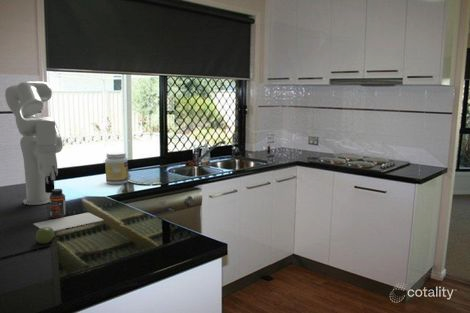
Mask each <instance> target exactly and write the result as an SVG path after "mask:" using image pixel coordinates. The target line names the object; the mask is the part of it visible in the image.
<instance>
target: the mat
mask: <svg viewBox="0 0 470 313" xmlns="http://www.w3.org/2000/svg"><path fill="white" fill-rule="evenodd" d="M104 221H105V219H103V218H101V217H99V216H96V215H95V214H93V213H91V212H83V213H80V214H75V215H69V216H65V217H62V218H52V219H48V220H44V221H39V222H35V223H33V226H35V227H36V228H38V230H39V229H41V228H44V227H50V228H52V229H53V230H54V233H56V232H58V231H64V230H67V229H66V228H69V229H72V227H73V228H78V227H82V226H86V224H87V225H91V224H95V223H100V222H104ZM81 225H82V226H81ZM77 226H78V227H77Z"/></svg>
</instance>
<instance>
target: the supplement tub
mask: <svg viewBox="0 0 470 313" xmlns="http://www.w3.org/2000/svg"><path fill="white" fill-rule="evenodd" d="M126 156H127V154H126V152H124V151H114V152H113V151H112V152H108V153H106V155H105V157H106V158H105V160H104V163H105V164H104V165H105V181H106V183H107V184H108V185H122V184H127V183H128V182H129V165H128V164H129V162H128V158H127V157H126Z"/></svg>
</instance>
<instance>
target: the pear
mask: <svg viewBox="0 0 470 313" xmlns="http://www.w3.org/2000/svg"><path fill="white" fill-rule="evenodd" d="M54 237H56V235H55V232H54V230H53V229H52V228H50V227H44V228H41V229H39V228H38V229H37V231H36V233H35V240H36V242H37V243H38V244H43V245H46V244H49V243H50V242H51V241H52V240H53V238H54Z"/></svg>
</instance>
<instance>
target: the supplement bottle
mask: <svg viewBox="0 0 470 313" xmlns="http://www.w3.org/2000/svg"><path fill="white" fill-rule="evenodd" d="M49 196H50V202H49V212H50V214H49V215H50V217H51V218H52V219H58V218H63V217H67V216H66V215H67V208H66V195H65V194H64V193H63V189H61V188H54V189H53V190H52V192H51V195H49Z"/></svg>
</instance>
